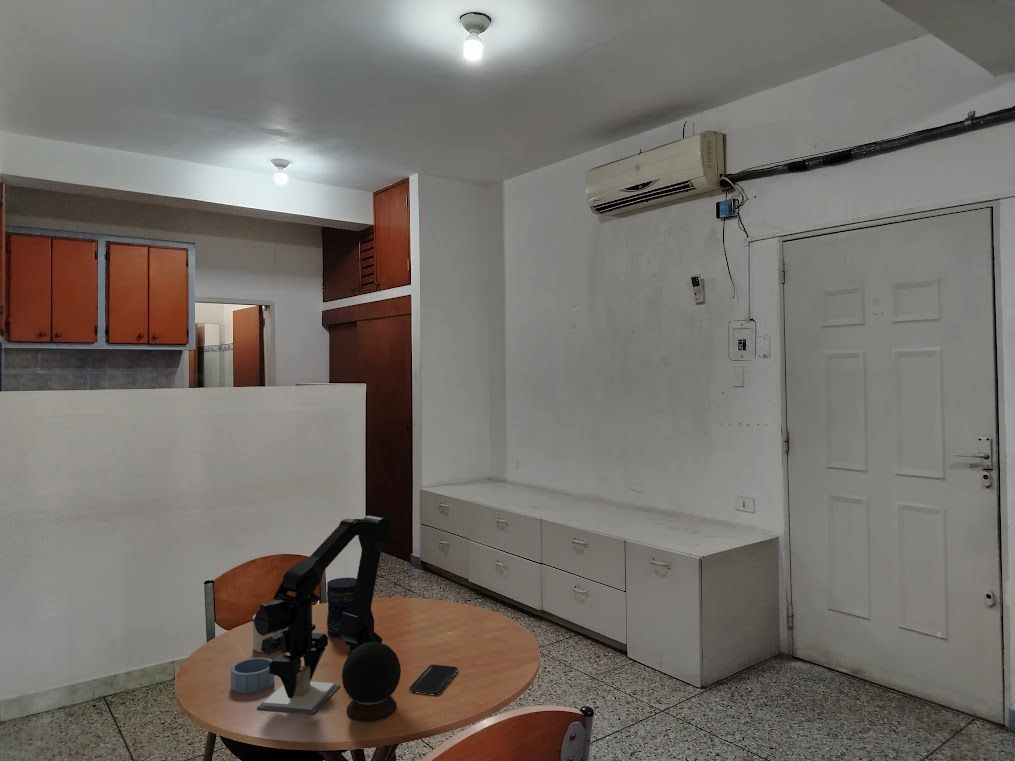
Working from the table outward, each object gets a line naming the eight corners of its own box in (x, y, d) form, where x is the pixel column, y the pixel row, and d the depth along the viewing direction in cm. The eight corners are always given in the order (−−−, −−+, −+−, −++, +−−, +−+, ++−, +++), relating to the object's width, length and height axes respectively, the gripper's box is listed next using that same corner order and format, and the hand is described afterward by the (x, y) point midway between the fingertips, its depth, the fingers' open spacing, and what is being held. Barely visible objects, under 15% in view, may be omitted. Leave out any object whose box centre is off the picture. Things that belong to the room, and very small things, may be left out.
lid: (334, 686, 166) (334, 660, 166) (312, 709, 155) (312, 681, 155) (288, 683, 168) (288, 657, 168) (263, 705, 157) (263, 678, 157)
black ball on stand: (372, 691, 165) (372, 629, 165) (412, 706, 157) (412, 641, 157) (329, 713, 154) (329, 646, 154) (370, 730, 146) (370, 660, 146)
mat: (340, 686, 167) (340, 685, 167) (314, 714, 153) (314, 712, 153) (286, 682, 170) (286, 681, 170) (256, 709, 156) (256, 707, 156)
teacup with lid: (274, 655, 187) (274, 612, 187) (245, 652, 189) (245, 610, 189) (297, 639, 199) (297, 598, 199) (270, 636, 201) (270, 596, 201)
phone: (407, 689, 164) (430, 664, 179) (407, 693, 164) (431, 668, 179) (438, 692, 162) (459, 667, 177) (438, 697, 162) (459, 671, 177)
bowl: (281, 676, 173) (281, 659, 173) (260, 694, 163) (260, 675, 163) (245, 674, 175) (245, 656, 175) (222, 691, 165) (222, 672, 165)
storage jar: (349, 639, 198) (349, 588, 198) (320, 636, 201) (320, 585, 201) (366, 628, 207) (366, 578, 207) (338, 624, 210) (338, 576, 210)
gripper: (287, 608, 172) (287, 670, 172) (246, 635, 154) (247, 704, 154) (328, 610, 170) (329, 673, 170) (293, 638, 152) (293, 708, 152)
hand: (299, 689), depth 162 cm, fingers open, 9 cm apart
